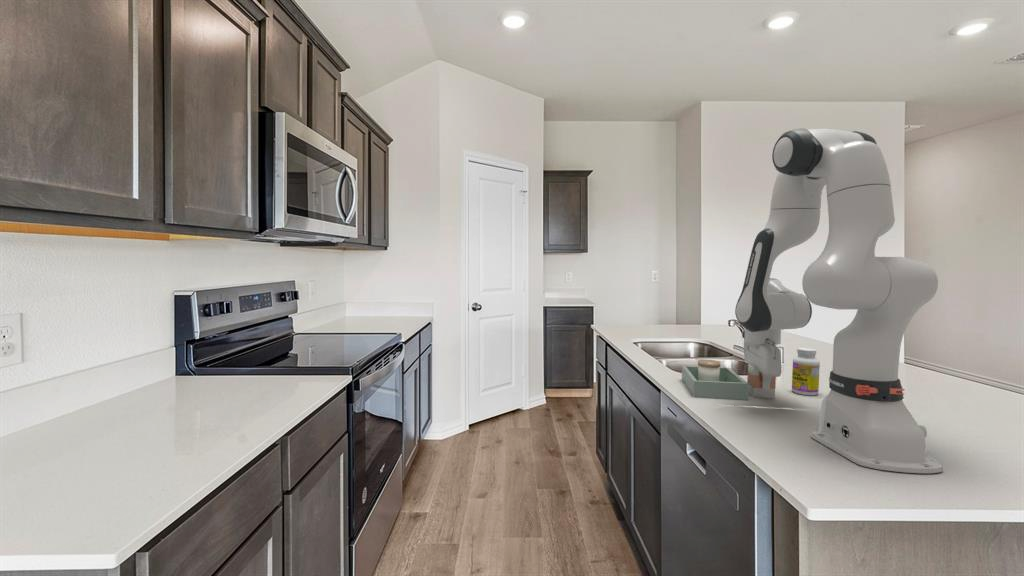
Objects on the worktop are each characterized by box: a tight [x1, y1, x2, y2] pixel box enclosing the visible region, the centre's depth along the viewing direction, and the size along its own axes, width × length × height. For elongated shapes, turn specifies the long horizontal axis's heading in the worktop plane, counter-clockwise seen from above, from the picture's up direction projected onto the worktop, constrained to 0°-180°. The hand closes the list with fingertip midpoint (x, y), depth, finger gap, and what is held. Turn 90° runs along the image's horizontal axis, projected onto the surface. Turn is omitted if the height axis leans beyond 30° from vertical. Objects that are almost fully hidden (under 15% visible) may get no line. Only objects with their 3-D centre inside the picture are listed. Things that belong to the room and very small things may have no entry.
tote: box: [681, 365, 749, 401], centre depth 139 cm, size 20×14×5 cm
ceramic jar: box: [697, 359, 722, 382], centre depth 144 cm, size 6×6×7 cm
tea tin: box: [746, 363, 777, 399], centre depth 133 cm, size 6×6×9 cm
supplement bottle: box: [791, 347, 821, 396], centre depth 137 cm, size 7×7×13 cm
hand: (761, 385), depth 133 cm, fingers open, 6 cm apart
